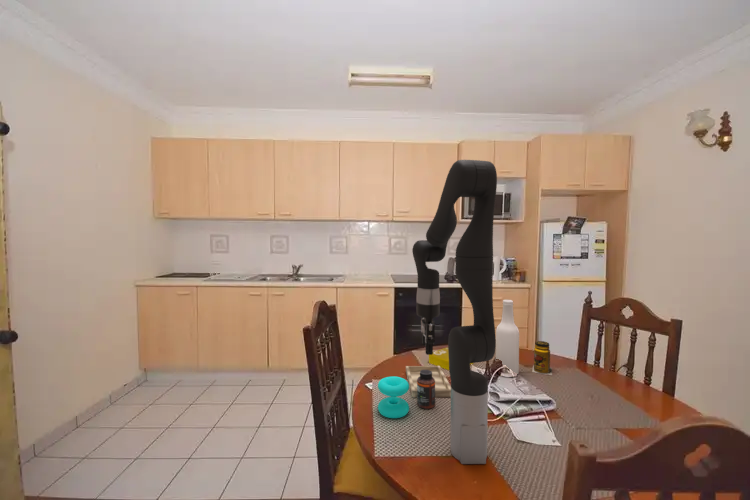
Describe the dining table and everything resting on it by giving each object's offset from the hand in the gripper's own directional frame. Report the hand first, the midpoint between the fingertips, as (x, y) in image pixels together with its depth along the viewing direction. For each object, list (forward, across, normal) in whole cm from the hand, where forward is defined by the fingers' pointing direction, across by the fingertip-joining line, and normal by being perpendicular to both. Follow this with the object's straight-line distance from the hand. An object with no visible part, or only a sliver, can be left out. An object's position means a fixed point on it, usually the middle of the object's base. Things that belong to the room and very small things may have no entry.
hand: (427, 349), depth 113 cm
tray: (+19, +15, -2) cm, 25 cm away
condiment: (+19, +29, -52) cm, 63 cm away
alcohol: (+19, +25, -36) cm, 48 cm away
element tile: (+20, +37, -16) cm, 45 cm away
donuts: (+19, -5, +11) cm, 23 cm away
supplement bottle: (+19, -1, 0) cm, 19 cm away
